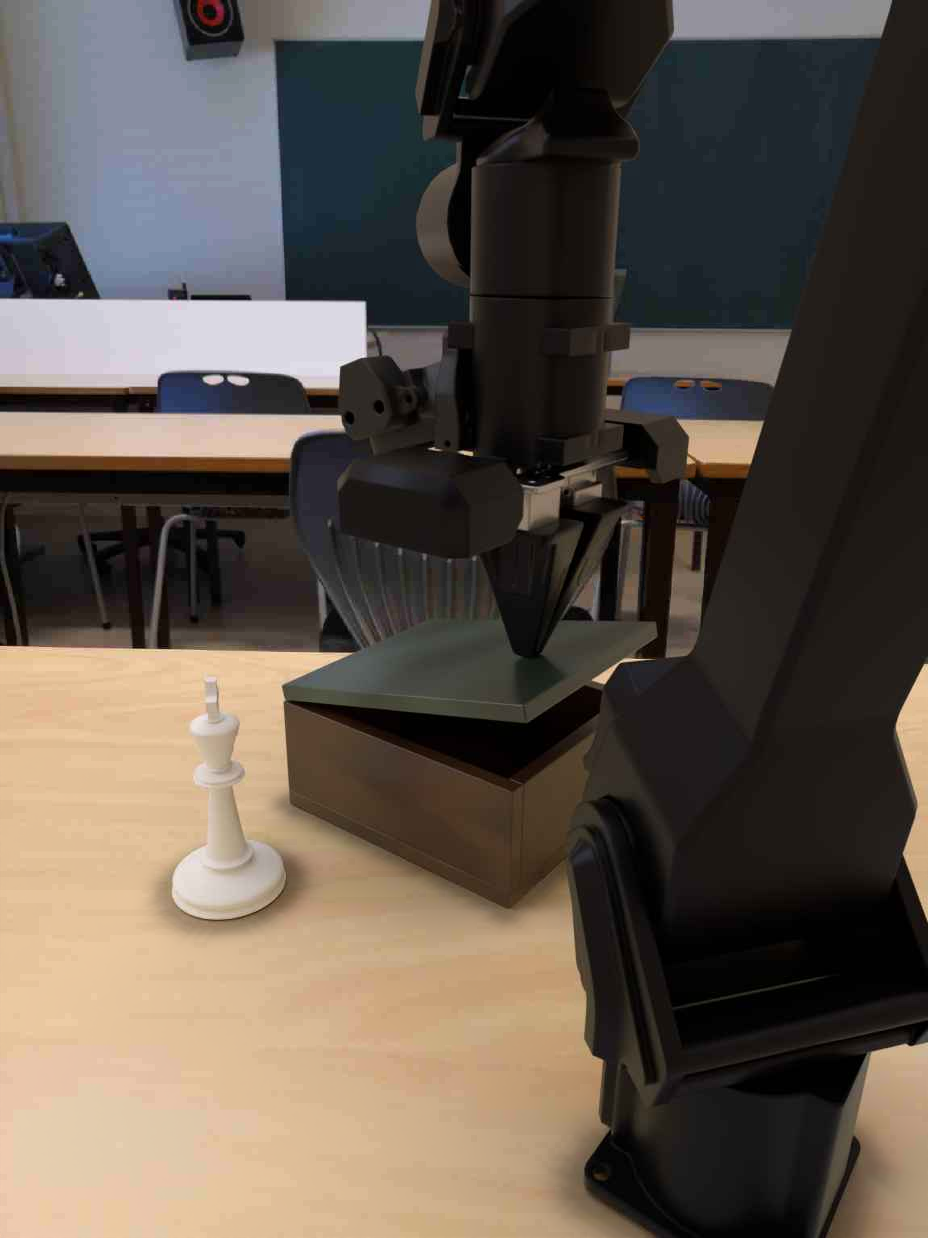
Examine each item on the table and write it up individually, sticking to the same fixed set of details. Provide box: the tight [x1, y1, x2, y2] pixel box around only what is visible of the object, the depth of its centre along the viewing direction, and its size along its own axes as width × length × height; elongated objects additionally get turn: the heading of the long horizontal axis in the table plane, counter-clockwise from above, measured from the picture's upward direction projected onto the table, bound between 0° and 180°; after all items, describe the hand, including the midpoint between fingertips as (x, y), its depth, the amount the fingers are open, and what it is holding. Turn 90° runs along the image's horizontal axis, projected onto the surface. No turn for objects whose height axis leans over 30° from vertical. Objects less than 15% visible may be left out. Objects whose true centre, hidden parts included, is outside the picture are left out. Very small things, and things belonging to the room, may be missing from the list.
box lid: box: [281, 618, 658, 723], centre depth 45 cm, size 14×12×1 cm
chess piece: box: [171, 676, 287, 920], centre depth 40 cm, size 5×5×10 cm
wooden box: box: [283, 680, 605, 909], centre depth 47 cm, size 14×12×6 cm
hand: (527, 654), depth 43 cm, fingers closed, pressing on box lid
